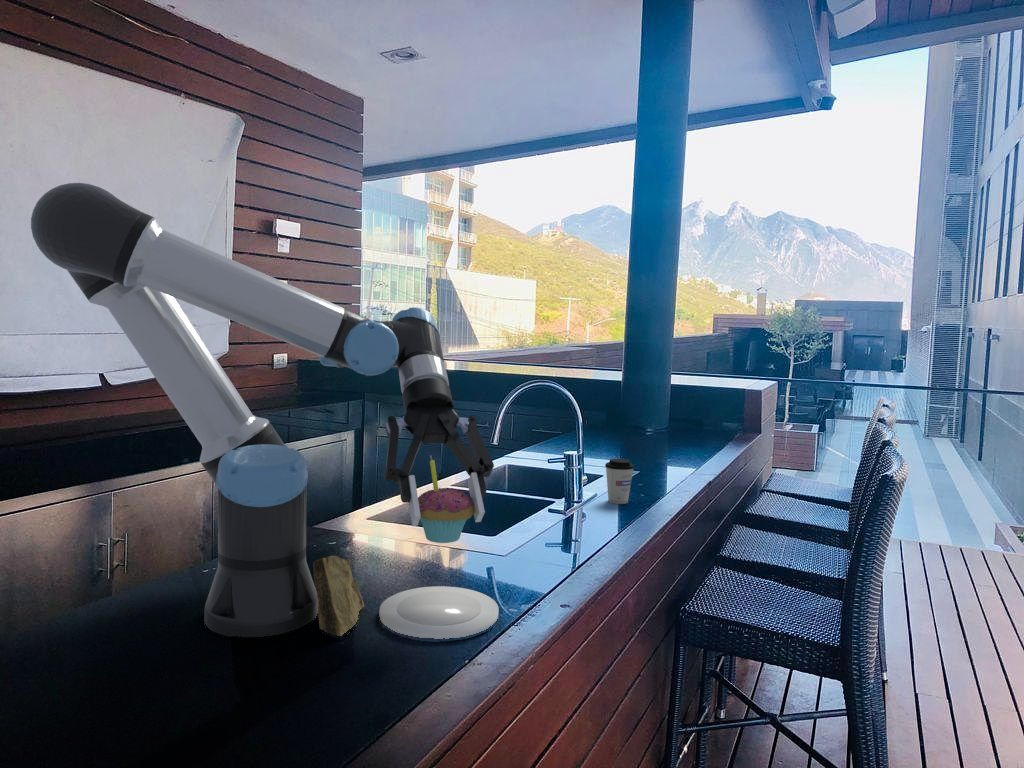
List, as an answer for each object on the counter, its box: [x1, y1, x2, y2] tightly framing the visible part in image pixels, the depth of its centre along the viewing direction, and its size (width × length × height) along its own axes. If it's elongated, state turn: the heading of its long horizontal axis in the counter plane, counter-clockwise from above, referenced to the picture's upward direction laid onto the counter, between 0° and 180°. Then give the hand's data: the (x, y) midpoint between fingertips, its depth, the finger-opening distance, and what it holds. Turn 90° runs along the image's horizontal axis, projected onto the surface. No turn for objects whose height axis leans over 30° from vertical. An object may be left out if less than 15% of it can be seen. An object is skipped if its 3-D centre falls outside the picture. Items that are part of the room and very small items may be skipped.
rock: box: [312, 555, 365, 636], centre depth 102 cm, size 11×9×10 cm
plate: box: [378, 585, 500, 639], centre depth 105 cm, size 17×17×1 cm
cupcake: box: [418, 454, 474, 544], centre depth 104 cm, size 9×8×12 cm
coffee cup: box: [604, 458, 635, 505], centre depth 175 cm, size 7×7×10 cm
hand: (448, 519), depth 101 cm, fingers closed on cupcake, 8 cm apart
